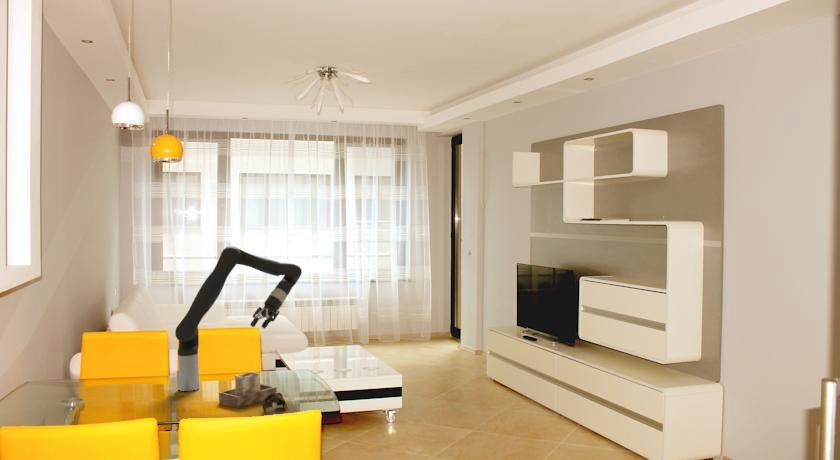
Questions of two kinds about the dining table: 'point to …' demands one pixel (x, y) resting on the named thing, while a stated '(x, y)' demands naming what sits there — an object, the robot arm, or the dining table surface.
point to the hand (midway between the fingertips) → (257, 326)
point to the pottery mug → (274, 401)
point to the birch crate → (247, 383)
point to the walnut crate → (245, 397)
